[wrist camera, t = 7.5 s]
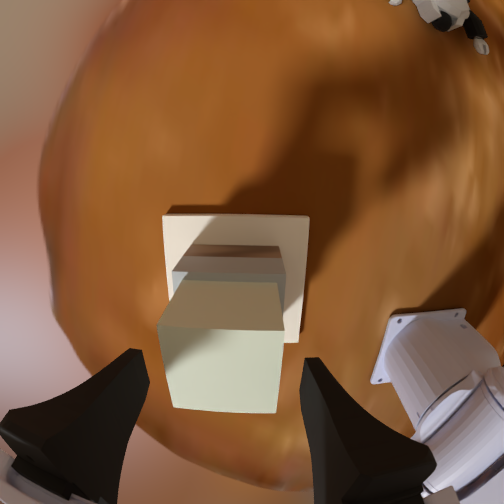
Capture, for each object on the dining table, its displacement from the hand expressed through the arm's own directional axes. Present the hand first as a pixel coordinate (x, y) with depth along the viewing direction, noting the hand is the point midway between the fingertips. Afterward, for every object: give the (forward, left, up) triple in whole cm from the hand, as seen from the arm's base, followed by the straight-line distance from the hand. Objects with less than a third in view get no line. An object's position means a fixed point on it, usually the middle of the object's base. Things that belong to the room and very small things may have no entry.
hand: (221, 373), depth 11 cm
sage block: (0, 0, -4) cm, 4 cm away
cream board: (0, 0, -10) cm, 10 cm away
